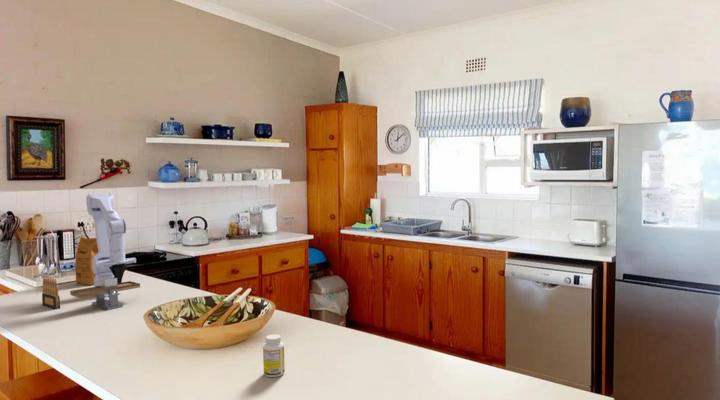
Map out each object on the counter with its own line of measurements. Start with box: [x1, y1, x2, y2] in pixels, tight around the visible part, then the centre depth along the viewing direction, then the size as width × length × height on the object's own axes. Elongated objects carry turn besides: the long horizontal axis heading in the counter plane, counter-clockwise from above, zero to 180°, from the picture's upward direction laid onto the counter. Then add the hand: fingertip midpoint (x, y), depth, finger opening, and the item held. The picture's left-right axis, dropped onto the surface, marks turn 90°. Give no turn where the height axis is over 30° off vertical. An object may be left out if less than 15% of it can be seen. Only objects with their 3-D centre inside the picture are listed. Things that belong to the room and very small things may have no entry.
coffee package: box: [74, 236, 103, 286], centre depth 248 cm, size 10×12×22 cm
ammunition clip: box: [41, 276, 61, 310], centre depth 208 cm, size 11×2×12 cm, turn 56°
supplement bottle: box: [262, 333, 286, 378], centre depth 140 cm, size 6×6×10 cm
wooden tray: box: [69, 280, 141, 299], centre depth 208 cm, size 9×24×2 cm, turn 142°
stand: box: [91, 285, 124, 311], centre depth 208 cm, size 13×6×8 cm, turn 52°
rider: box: [99, 276, 117, 289], centre depth 209 cm, size 4×5×4 cm
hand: (118, 282), depth 212 cm, fingers closed
